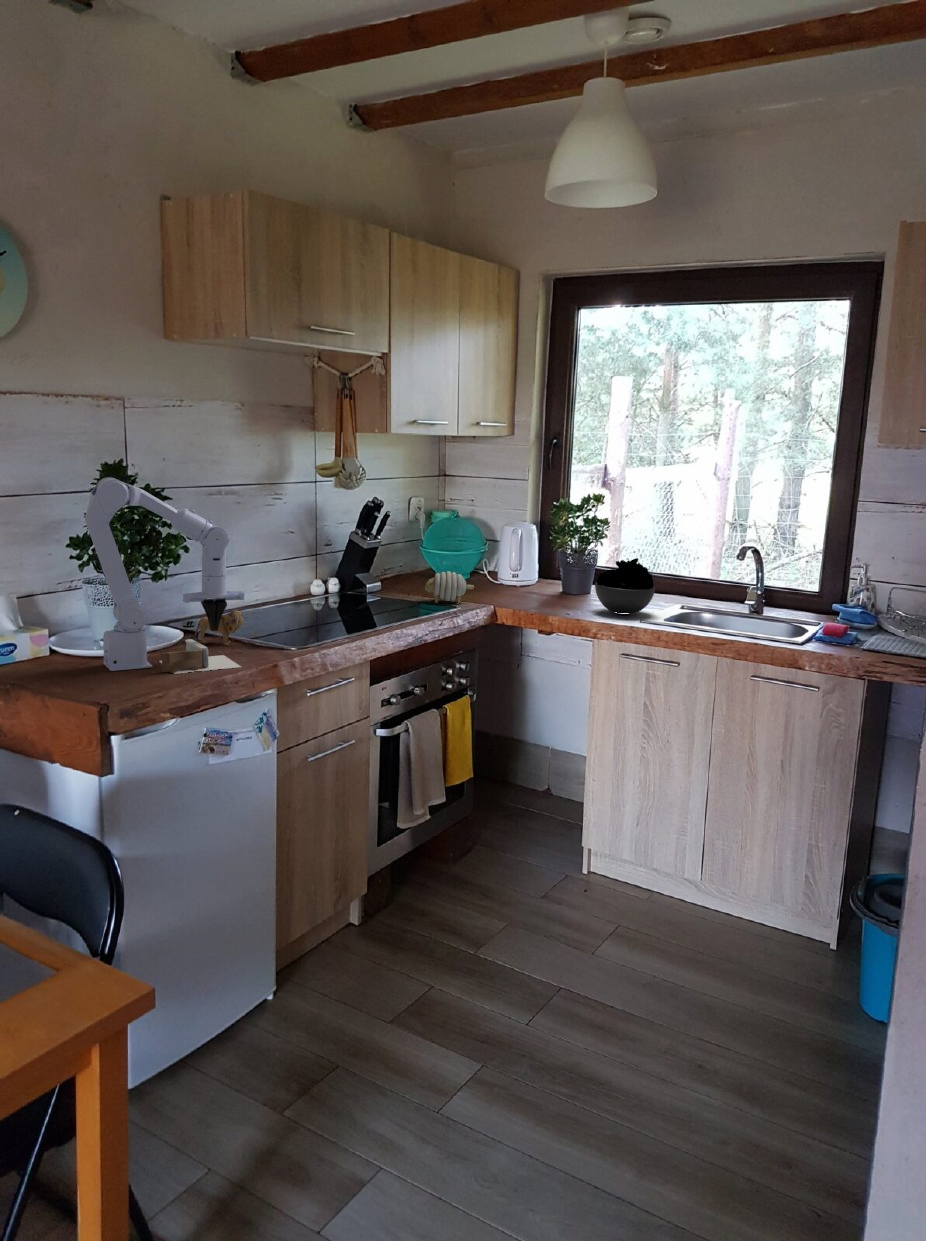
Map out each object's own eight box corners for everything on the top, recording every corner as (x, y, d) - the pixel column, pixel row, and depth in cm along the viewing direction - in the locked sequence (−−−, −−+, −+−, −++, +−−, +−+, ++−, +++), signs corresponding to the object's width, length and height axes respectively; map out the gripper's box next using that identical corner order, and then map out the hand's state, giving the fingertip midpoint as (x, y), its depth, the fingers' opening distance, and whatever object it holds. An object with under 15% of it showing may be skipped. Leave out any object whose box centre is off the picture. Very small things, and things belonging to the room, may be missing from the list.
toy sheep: (422, 599, 330) (424, 568, 328) (470, 600, 332) (472, 569, 330) (425, 605, 320) (427, 573, 318) (475, 606, 322) (476, 574, 320)
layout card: (174, 674, 218) (174, 673, 218) (159, 661, 229) (159, 660, 229) (241, 667, 227) (241, 666, 227) (223, 655, 237) (223, 655, 237)
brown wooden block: (165, 673, 217) (164, 654, 217) (160, 669, 220) (160, 651, 220) (203, 669, 222) (203, 651, 221) (198, 666, 225) (198, 648, 224)
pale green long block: (209, 666, 224) (209, 648, 223) (203, 667, 223) (203, 649, 222) (191, 656, 233) (191, 639, 232) (185, 656, 232) (185, 639, 231)
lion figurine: (246, 642, 254) (246, 609, 252) (240, 646, 249) (240, 612, 247) (192, 639, 255) (192, 606, 253) (185, 643, 249) (185, 609, 248)
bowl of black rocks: (617, 621, 306) (621, 564, 302) (581, 610, 323) (585, 555, 320) (665, 618, 316) (670, 562, 312) (627, 607, 333) (632, 554, 329)
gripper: (238, 571, 235) (237, 625, 238) (179, 573, 228) (179, 628, 231) (247, 576, 230) (246, 630, 232) (187, 578, 222) (187, 634, 225)
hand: (213, 630), depth 231 cm, fingers closed
